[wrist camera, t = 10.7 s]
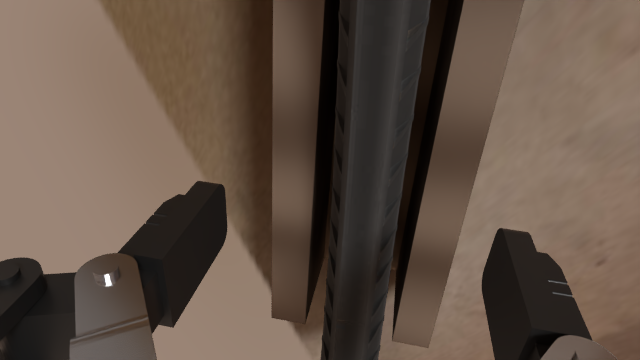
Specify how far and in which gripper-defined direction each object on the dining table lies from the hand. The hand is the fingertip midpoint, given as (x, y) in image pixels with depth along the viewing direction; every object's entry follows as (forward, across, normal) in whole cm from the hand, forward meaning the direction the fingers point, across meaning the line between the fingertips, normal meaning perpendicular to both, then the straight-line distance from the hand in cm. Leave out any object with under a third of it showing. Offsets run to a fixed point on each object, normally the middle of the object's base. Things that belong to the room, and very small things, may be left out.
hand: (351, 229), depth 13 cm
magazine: (+13, 0, +1) cm, 13 cm away
